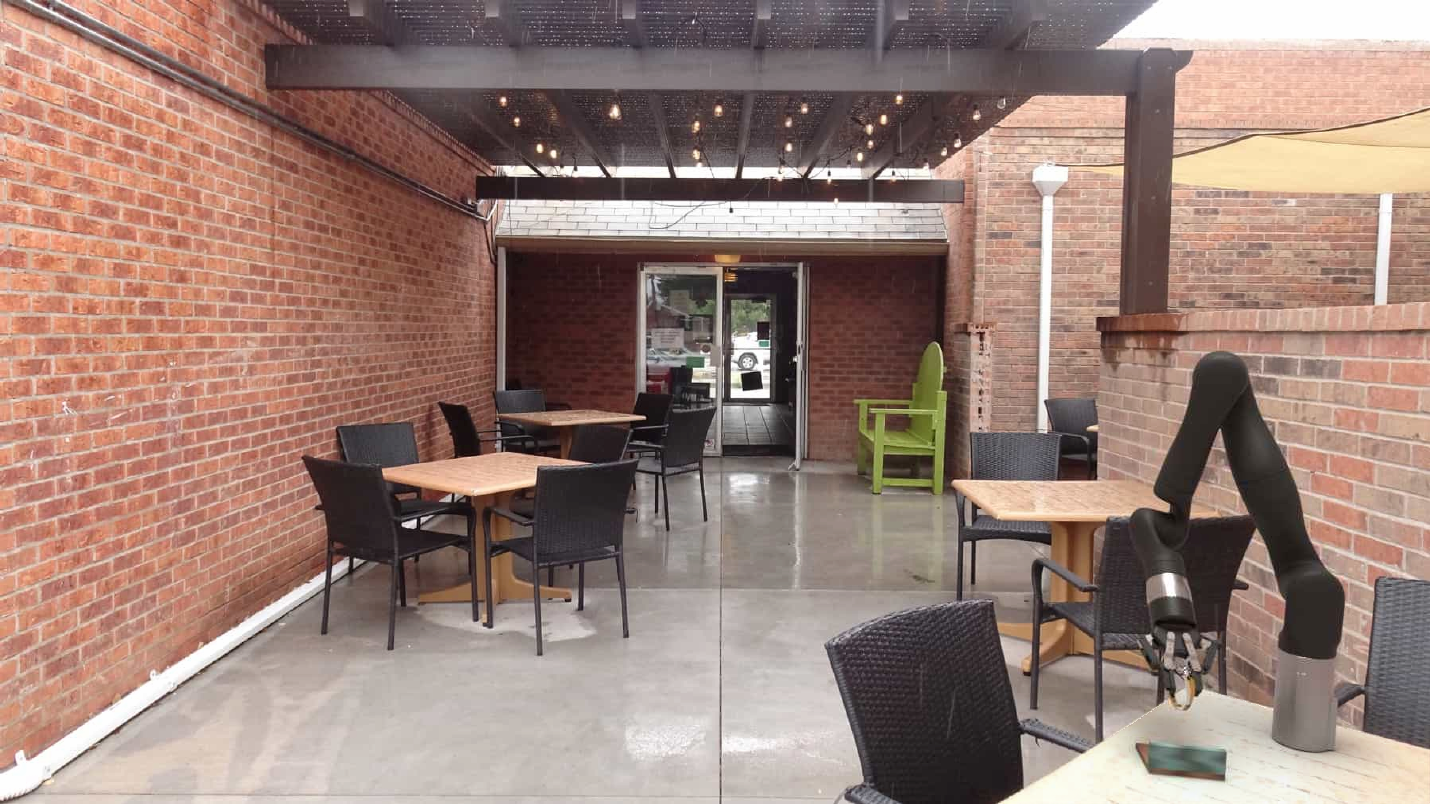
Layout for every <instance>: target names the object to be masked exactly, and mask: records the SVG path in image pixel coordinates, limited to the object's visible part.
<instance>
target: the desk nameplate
mask: <svg viewBox="0 0 1430 804" xmlns="http://www.w3.org/2000/svg"><path fill="white" fill-rule="evenodd" d="M1135 750H1136V752H1137V754H1138V755H1139V758H1140V759H1141V760H1142V763H1143V765H1144V767H1145V768H1146V770H1147V772H1148V773H1149V774H1154V775H1163V776H1165V775H1166V776H1173V777H1174V776H1175V777H1184V778H1194V779H1195V778H1196V779H1202V780H1203V779H1205V780H1215V781H1223V782H1225V781H1226V774H1227V773H1226V772H1227V771H1226V769H1227V758H1228V757H1227V755H1228V753H1227V750H1226V749H1225V748H1217V747H1205V746H1195V745H1185V744H1174V743H1163V742H1155V741H1154V742H1151V741H1149V742H1148V743H1143V742H1135Z"/></svg>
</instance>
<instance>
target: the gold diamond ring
mask: <svg viewBox="0 0 1430 804" xmlns="http://www.w3.org/2000/svg"><path fill="white" fill-rule="evenodd" d="M1171 670H1173V672H1174V678H1176V676H1178V677H1180V678H1181V679H1182V681H1183V683H1184V684H1183V685H1184V686H1185V687H1184V688H1185V694H1186V695H1185V701H1184V703H1183V705H1182V704H1181V703H1179V702H1178V700H1177V698H1176V695H1175V694H1176V693H1175V694H1174V695H1173V694H1169V691H1167V693H1168V695H1167V696H1168V698H1169V700H1170V702H1171V704H1172V706H1173V707H1174V710H1175V711H1179V712H1180V711H1181V712H1185V711H1188V710H1189V709H1190V708H1191V707H1192V704H1193V701H1194V700H1195V697H1194V695H1195V683H1194V679H1193V677H1192V675H1191V674H1192V671H1191V670H1189V669H1188V667H1187V666H1186V665H1185V664H1184V665H1183V666H1180V664H1178V663H1176V668H1174V667H1171Z"/></svg>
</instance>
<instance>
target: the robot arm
mask: <svg viewBox="0 0 1430 804" xmlns="http://www.w3.org/2000/svg"><path fill="white" fill-rule="evenodd" d="M1191 381H1192V383H1191V389H1190V393H1189V400H1188V403H1187V407H1186V410H1185V412H1184V413H1185V414H1184V416H1183V419H1182V421H1181V425H1180V427H1179V429H1178V431H1177V433H1176V436H1175V438H1174V439H1173V442H1172V444H1171V446H1170V447H1169V449H1168V451H1167V454H1166V455H1165V458H1164V460H1163V462H1162V466H1161V467H1160V470H1159V472H1158V475H1157V477H1156V479H1155V482H1154V485H1153V489H1152V491H1153V494H1154V495H1155V497H1157V499H1159V500H1161V501H1163V502H1165V503H1168V504H1169V510H1168V512H1167V511H1163V510H1160V509H1155V508H1151V507H1139V508H1136V509H1135V510H1134V511H1133V512H1132V513H1131V515H1130V517H1129V520H1128V522H1127V523H1128V526H1127V527H1128V534H1129V538H1130V541H1131V542H1132V545H1133V547H1134V549H1135V551H1136V553H1137V555H1138V557H1139V559H1140V561H1141V563H1142V565H1143V569H1144V575H1145V576H1144V577H1145V585H1146V589H1145V590H1146V591H1145V593H1146V603H1147V604H1146V605H1147V607H1148V614H1149V621H1150V627H1151V631H1150V633H1149V634H1142V633H1141V634H1139V635H1138V637H1137V639H1136V641H1135V645H1136V647H1137V648H1138V650H1139V651H1140V653H1141V655H1142V656H1143V658H1144V660H1145V661H1146V663H1147V665H1148V667H1149V669H1150V670H1152V671H1158V672H1160V673H1161V674H1162V680H1163V687H1164V689H1165V691H1167V692H1168V691H1169V694H1173V695H1174V694H1176V692H1177V685H1176V684H1177V683H1176V679H1175V678H1176V677H1175V678H1174V672H1173V670H1171V669H1172V668H1173V667H1172V666H1173V658H1180V659H1182V660H1183V662H1184V665H1186V667H1188V669H1189V670H1191V671H1192V674H1191V675H1192V677H1193V679H1194V683H1195V695H1194V698H1198V697H1199V695H1200V694H1201V693H1202V692H1203V689H1204V686H1203V685H1204V684H1203V678H1202V675H1203V676H1207V675H1208V673H1209V671H1210V670H1211V669H1212V667H1213V664H1214V659H1215V657H1216V653H1217V650H1218V647H1219V642H1218V641H1216V640H1211V641H1209V640H1208V639H1205V638H1203V637H1202V635H1201V633H1200V632H1199V630H1198V625H1197V620H1196V614H1195V608H1194V604H1193V603H1194V602H1193V597H1192V593H1191V589H1190V586H1189V584H1188V583H1189V582H1188V578H1187V572H1186V566H1185V562H1184V559H1183V557H1182V555H1181V554H1179V552H1177V551H1175V550H1177V549H1180V547H1182V546H1183V545H1184V544H1185V543H1186V541H1187V539H1188V536H1189V530H1190V518H1191V511H1192V510H1191V509H1192V503H1193V498H1194V495H1195V493H1196V491H1197V488H1198V486H1199V484H1200V481H1201V479H1202V476H1203V473H1204V471H1205V468H1206V466H1207V463H1208V460H1209V457H1210V454H1211V451H1212V448H1213V445H1214V443H1215V439H1216V438H1217V436H1218V433H1219V431H1220V433H1221V436H1222V441H1223V446H1224V451H1225V455H1226V458H1227V462H1228V466H1229V469H1230V472H1231V474H1232V475H1231V476H1232V478H1233V481H1234V484H1235V486H1236V488H1237V490H1238V493H1239V495H1240V498H1241V500H1242V503H1243V504H1244V507H1246V511H1247V512H1248V514H1249V515H1248V516H1250V518H1251V521H1252V522H1253V524H1254V526H1255V527H1256V529H1257V531H1258V533H1259V534H1260V536H1261V538H1262V541H1263V543H1264V544H1265V547H1266V550H1267V553H1268V556H1269V558H1270V562H1271V566H1272V570H1273V573H1274V577H1275V580H1276V583H1277V589H1278V591H1279V594H1280V595H1281V597H1282V598H1283V600H1284V601H1285V607H1284V618H1283V625H1282V626H1283V627H1282V629H1281V630H1280V631H1279V633H1278V636H1277V637H1278V639H1277V651H1276V653H1277V654H1276V655H1277V656H1276V665H1275V678H1274V679H1275V683H1274V697H1273V709H1272V712H1273V713H1272V723H1271V727H1272V728H1271V737H1272V739H1274V740H1275V741H1276V742H1277V743H1279V744H1281V745H1284V746H1286V747H1288V748H1291V749H1292V748H1293V749H1295V750H1299V751H1306V752H1311V753H1312V752H1313V753H1314V752H1315V753H1317V752H1325V751H1335V748H1336V747H1335V745H1336V735H1337V733H1336V732H1337V720H1338V708H1339V707H1338V706H1339V705H1338V704H1339V700H1338V698H1337V697H1335V694H1334V692H1335V677H1336V661H1337V655H1338V654H1337V651H1338V646H1339V645H1340V643H1341V641H1342V640H1341V639H1342V637H1343V636H1342V634H1343V627H1344V618H1345V617H1344V616H1345V607H1346V593H1345V589H1344V586H1343V584H1342V583H1341V581H1340V580H1339V579H1338V578H1337V576H1335V575H1334V574H1333V573H1332V572H1330V570H1328V568H1326V566H1325V565H1324V563H1323V561H1322V559H1321V558H1320V556H1319V554H1318V553H1317V551H1316V549H1315V547H1314V544H1313V543H1312V541H1311V539H1310V537H1309V534H1308V530H1307V529H1306V523H1305V518H1304V513H1303V512H1304V510H1303V506H1302V505H1303V504H1302V501H1301V496H1300V491H1299V490H1298V487H1297V484H1296V481H1295V478H1294V477H1293V474H1292V471H1291V469H1290V467H1289V465H1288V463H1287V460H1286V458H1285V457H1284V454H1283V453H1282V451H1281V449H1280V446H1279V445H1278V442H1277V441H1276V439H1275V437H1274V436H1273V434H1272V432H1271V430H1270V429H1269V427H1268V425H1267V423H1266V422H1265V420H1264V418H1263V416H1262V414H1261V411H1260V408H1259V406H1258V403H1257V399H1256V397H1255V394H1254V390H1253V386H1252V384H1251V383H1252V382H1251V380H1250V374H1249V370H1248V366H1247V365H1246V363H1245V361H1243V359H1242V358H1241V357H1239V356H1238V354H1234V353H1233V352H1230V351H1227V350H1215V351H1211V352H1209V353H1206V354H1205V355H1203V356H1202V357H1201V358H1200V359H1199V360H1198V362H1197V363H1196V365H1195V366H1194V369H1193V371H1192V375H1191ZM1153 644H1154V645H1155V647H1157V648H1158V649H1159V650H1160V651H1161V659H1160V658H1159V657H1158V655H1157V653H1156V651H1155V650H1154V648H1153V647H1152V645H1153ZM1199 646H1201V648H1202V652H1203V653H1204V658H1203V660H1202V664H1201V663H1199V660H1198V653H1197V651H1196V650H1197V648H1198V647H1199Z"/></svg>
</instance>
